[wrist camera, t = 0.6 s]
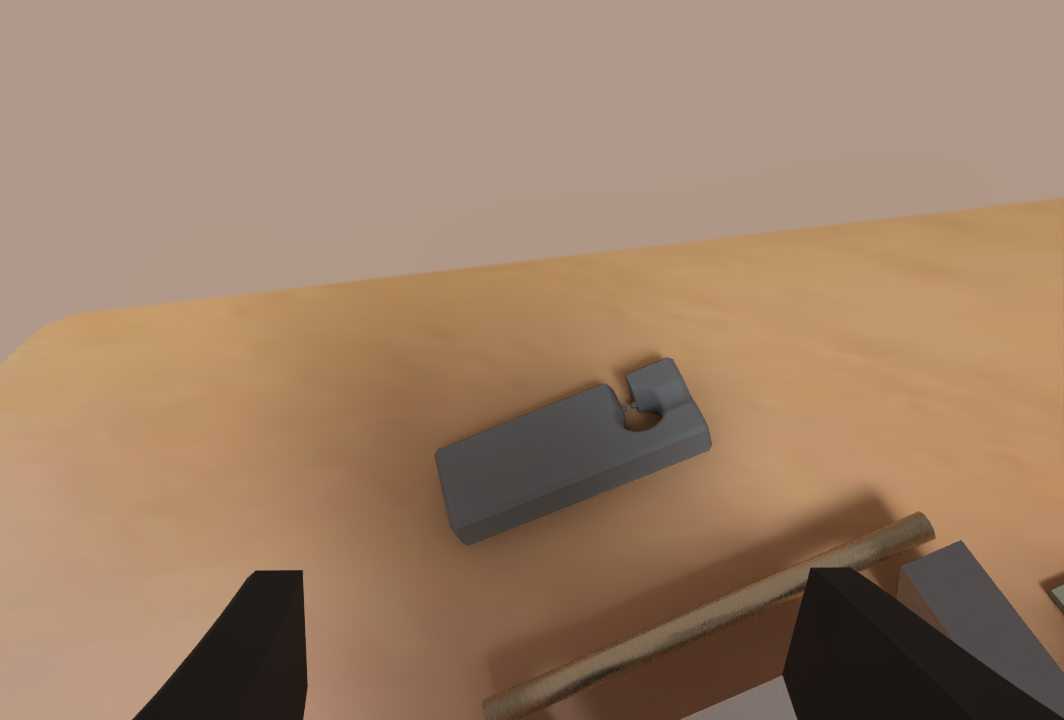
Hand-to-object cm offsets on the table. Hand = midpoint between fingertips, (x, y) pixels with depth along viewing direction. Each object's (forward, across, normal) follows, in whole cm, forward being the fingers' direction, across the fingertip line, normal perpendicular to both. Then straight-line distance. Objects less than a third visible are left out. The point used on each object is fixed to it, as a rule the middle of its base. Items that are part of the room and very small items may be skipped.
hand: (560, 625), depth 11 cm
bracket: (+21, -5, +10) cm, 24 cm away
